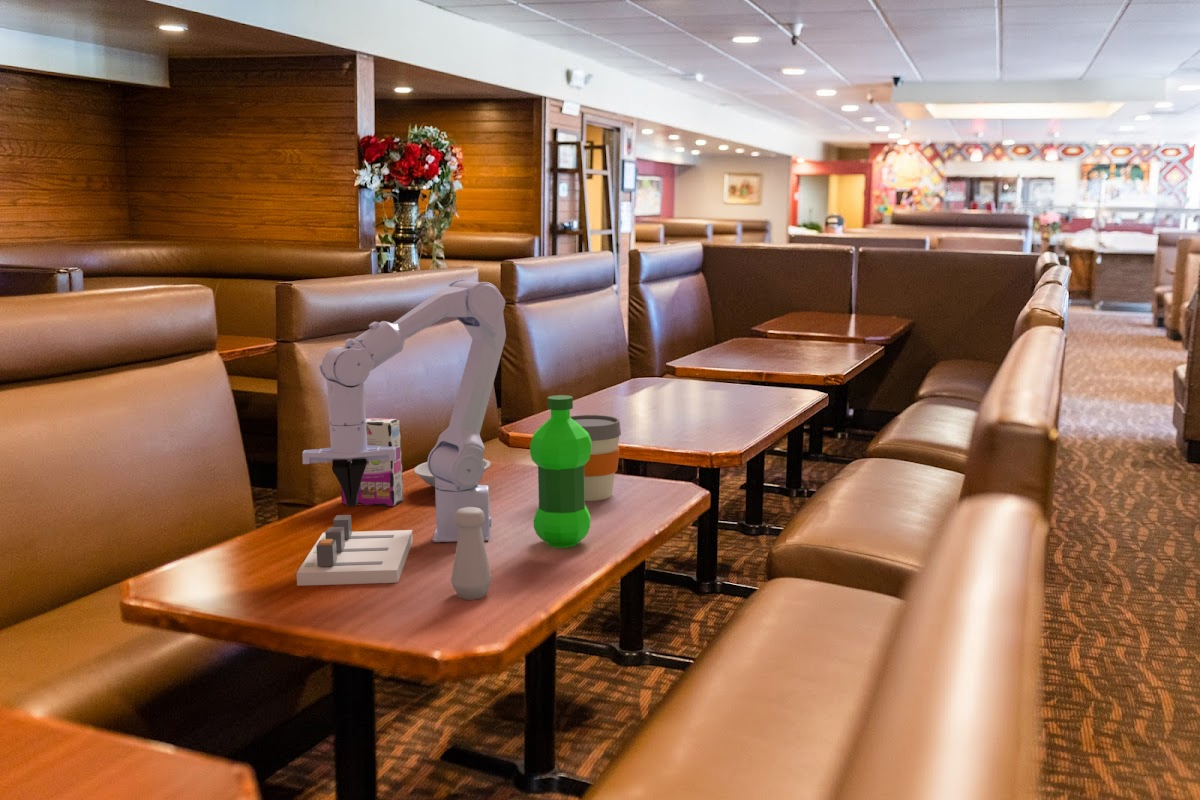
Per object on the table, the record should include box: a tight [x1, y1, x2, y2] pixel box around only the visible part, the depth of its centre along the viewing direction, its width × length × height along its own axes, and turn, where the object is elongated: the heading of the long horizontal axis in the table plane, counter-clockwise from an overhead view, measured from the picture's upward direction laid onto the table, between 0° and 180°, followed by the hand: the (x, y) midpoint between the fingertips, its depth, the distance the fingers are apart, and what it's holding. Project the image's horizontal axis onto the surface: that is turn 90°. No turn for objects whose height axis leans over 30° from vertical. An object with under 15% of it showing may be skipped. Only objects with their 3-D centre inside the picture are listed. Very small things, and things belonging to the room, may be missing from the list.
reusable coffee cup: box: [570, 414, 622, 502], centre depth 211 cm, size 13×13×15 cm
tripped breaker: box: [316, 539, 337, 566], centre depth 165 cm, size 2×3×4 cm
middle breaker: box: [325, 526, 345, 552], centre depth 172 cm, size 2×3×3 cm
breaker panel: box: [296, 529, 414, 586], centre depth 172 cm, size 15×21×2 cm
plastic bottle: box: [529, 394, 591, 549], centre depth 179 cm, size 10×10×25 cm
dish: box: [413, 458, 491, 488], centre depth 217 cm, size 18×14×5 cm
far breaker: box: [332, 514, 353, 539], centre depth 178 cm, size 2×3×3 cm
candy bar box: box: [340, 417, 404, 507], centre depth 207 cm, size 11×5×16 cm, turn 77°
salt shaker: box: [450, 507, 492, 601], centre depth 156 cm, size 6×6×13 cm
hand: (352, 505), depth 174 cm, fingers closed
